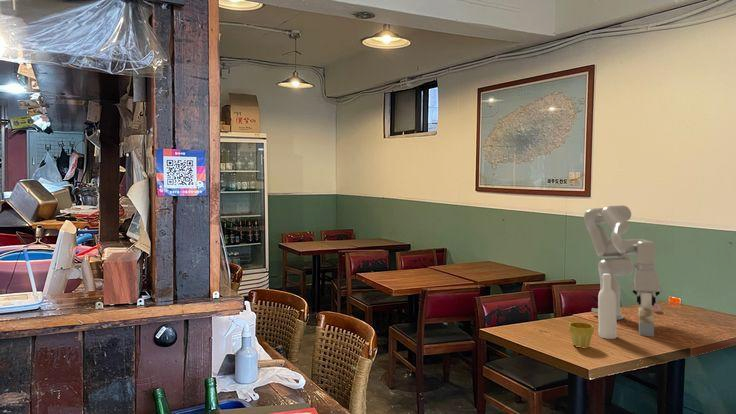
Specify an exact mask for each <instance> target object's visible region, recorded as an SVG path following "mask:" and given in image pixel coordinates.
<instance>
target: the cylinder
mask: <svg viewBox="0 0 736 414" xmlns="http://www.w3.org/2000/svg"><path fill="white" fill-rule="evenodd" d="M652 295H653V294H652V292H651V291H641V292H640V297H641V305H639V307H643V308H653V306H652Z"/></svg>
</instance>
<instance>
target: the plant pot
mask: <svg viewBox="0 0 736 414" xmlns="http://www.w3.org/2000/svg"><path fill="white" fill-rule="evenodd" d="M594 327H595V326H594V324H591V323H588V322H583V321H573V322H570V323H569V324H568V332H569V333H570V338H571V342H572V345H573V344H574V345H576V346H580V347H588V346H589V347H590V344H591V340H592V336H593V335H594V329H595V328H594Z"/></svg>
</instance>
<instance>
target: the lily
mask: <svg viewBox="0 0 736 414" xmlns="http://www.w3.org/2000/svg"><path fill="white" fill-rule="evenodd" d="M652 308H655V309H656V311H657V312H658V313H660V311H662V310H663V309H661V307H660V306H659V305H658V304H657V302H656V303H655V304H654V306H653V305H652Z"/></svg>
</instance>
